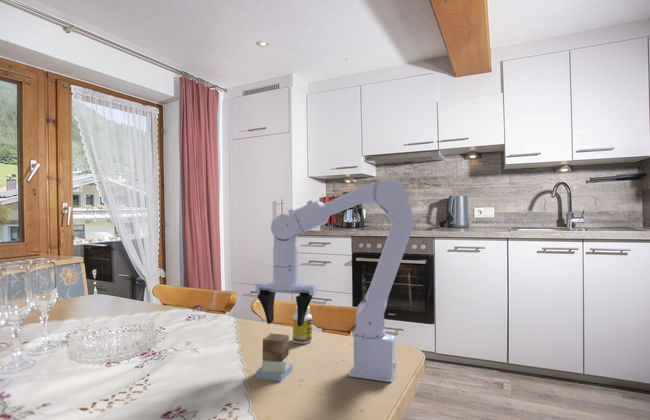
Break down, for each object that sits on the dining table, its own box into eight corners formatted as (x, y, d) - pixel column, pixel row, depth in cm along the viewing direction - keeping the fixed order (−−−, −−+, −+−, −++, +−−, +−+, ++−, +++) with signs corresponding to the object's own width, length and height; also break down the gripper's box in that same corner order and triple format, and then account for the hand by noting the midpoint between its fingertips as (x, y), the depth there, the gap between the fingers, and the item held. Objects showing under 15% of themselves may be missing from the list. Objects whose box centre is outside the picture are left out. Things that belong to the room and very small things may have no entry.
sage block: (287, 363, 86) (287, 353, 86) (285, 372, 81) (285, 362, 81) (265, 363, 86) (265, 353, 86) (262, 372, 81) (262, 361, 81)
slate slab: (292, 373, 85) (292, 364, 85) (281, 385, 80) (281, 374, 80) (268, 370, 87) (268, 360, 87) (256, 380, 81) (256, 370, 81)
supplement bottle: (309, 345, 102) (309, 309, 102) (290, 343, 103) (290, 308, 103) (313, 338, 107) (314, 304, 108) (295, 337, 108) (296, 303, 109)
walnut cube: (288, 354, 85) (288, 335, 85) (281, 362, 81) (281, 341, 81) (270, 352, 86) (270, 333, 87) (262, 359, 82) (262, 339, 82)
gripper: (320, 264, 89) (319, 321, 88) (264, 262, 93) (264, 316, 92) (310, 268, 82) (310, 330, 82) (251, 266, 86) (251, 324, 86)
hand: (285, 323), depth 87 cm, fingers open, 7 cm apart
